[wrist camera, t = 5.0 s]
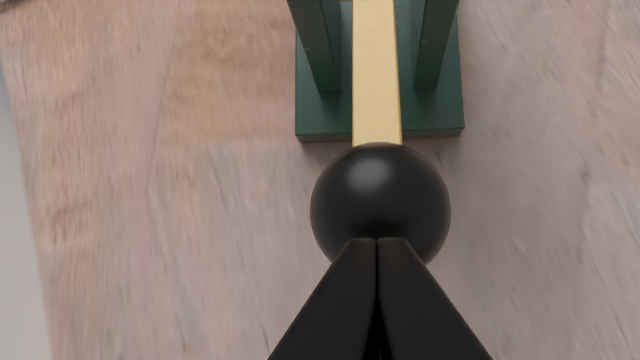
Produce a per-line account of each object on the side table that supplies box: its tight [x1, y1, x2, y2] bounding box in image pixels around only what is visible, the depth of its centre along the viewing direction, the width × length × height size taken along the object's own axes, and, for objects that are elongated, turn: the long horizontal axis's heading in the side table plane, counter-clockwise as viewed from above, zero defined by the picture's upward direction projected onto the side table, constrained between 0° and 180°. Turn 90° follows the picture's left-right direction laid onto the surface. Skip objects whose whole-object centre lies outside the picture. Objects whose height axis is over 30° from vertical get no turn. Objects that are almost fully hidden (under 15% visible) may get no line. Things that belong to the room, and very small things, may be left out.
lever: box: [310, 0, 451, 266], centre depth 13 cm, size 12×3×3 cm, turn 0°
